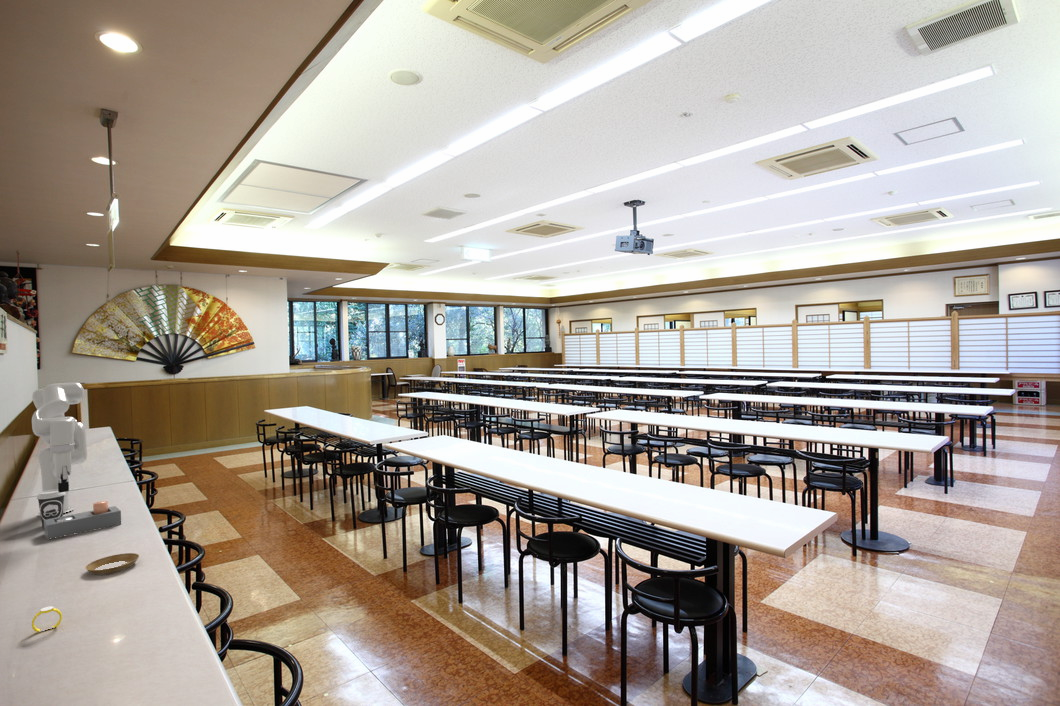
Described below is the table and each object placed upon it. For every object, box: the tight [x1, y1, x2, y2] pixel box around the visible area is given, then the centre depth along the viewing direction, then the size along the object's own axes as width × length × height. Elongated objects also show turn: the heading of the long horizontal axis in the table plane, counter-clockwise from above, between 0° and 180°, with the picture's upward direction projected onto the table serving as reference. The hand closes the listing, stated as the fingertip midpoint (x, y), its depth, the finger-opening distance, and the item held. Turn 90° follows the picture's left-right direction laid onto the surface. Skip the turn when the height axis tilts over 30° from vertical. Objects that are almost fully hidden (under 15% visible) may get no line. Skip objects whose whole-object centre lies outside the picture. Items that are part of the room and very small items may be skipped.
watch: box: [31, 605, 63, 633], centre depth 143 cm, size 6×3×6 cm, turn 130°
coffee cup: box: [36, 489, 66, 528], centre depth 232 cm, size 10×10×15 cm
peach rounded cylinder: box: [92, 500, 109, 515], centre depth 230 cm, size 5×5×6 cm
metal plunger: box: [57, 517, 73, 522], centre depth 221 cm, size 5×5×6 cm
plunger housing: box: [43, 505, 122, 540], centre depth 226 cm, size 11×24×6 cm, turn 139°
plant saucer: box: [84, 552, 140, 576], centre depth 184 cm, size 15×15×3 cm
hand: (63, 491), depth 222 cm, fingers closed
